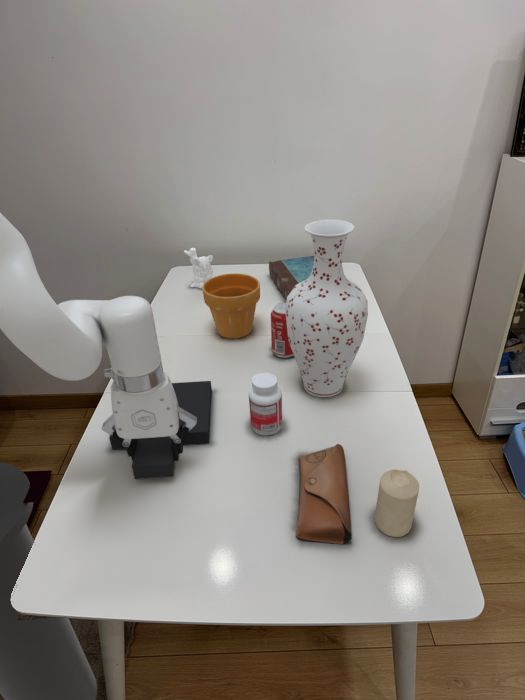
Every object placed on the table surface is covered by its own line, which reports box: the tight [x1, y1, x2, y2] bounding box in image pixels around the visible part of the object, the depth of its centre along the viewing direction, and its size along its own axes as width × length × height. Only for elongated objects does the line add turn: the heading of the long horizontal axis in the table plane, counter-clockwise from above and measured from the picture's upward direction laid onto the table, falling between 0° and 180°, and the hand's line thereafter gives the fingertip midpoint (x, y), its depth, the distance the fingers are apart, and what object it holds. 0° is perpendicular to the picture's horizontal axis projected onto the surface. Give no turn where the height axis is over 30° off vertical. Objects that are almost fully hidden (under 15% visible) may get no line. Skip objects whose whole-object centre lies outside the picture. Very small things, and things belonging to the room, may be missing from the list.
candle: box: [374, 468, 420, 538], centre depth 72 cm, size 6×6×10 cm
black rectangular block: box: [131, 436, 176, 480], centre depth 87 cm, size 6×12×3 cm, turn 3°
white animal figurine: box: [183, 247, 214, 290], centre depth 147 cm, size 8×7×12 cm
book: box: [268, 255, 315, 301], centre depth 146 cm, size 23×18×5 cm
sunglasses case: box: [295, 443, 353, 545], centre depth 79 cm, size 18×7×7 cm
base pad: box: [108, 380, 213, 451], centre depth 97 cm, size 18×16×3 cm
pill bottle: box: [248, 372, 283, 436], centre depth 92 cm, size 6×6×11 cm
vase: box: [285, 218, 369, 398], centre depth 96 cm, size 16×16×35 cm
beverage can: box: [270, 302, 294, 359], centre depth 113 cm, size 6×6×12 cm
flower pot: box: [201, 272, 261, 339], centre depth 123 cm, size 14×14×13 cm
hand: (156, 456), depth 86 cm, fingers closed on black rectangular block, 6 cm apart
